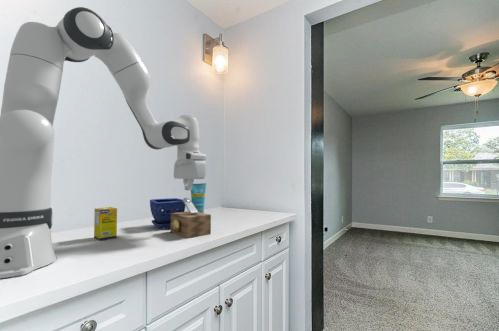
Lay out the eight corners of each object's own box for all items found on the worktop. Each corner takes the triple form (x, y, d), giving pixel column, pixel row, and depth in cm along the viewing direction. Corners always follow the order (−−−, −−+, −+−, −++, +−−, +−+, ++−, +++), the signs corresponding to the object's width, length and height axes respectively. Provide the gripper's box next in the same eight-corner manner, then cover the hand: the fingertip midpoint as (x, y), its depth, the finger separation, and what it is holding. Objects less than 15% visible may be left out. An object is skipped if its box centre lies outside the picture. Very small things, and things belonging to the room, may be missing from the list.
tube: (191, 227, 112) (192, 183, 113) (188, 225, 116) (188, 183, 117) (207, 225, 116) (207, 183, 117) (203, 223, 120) (203, 183, 121)
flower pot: (186, 227, 113) (187, 200, 113) (155, 230, 105) (156, 201, 106) (177, 222, 124) (177, 197, 124) (148, 225, 116) (148, 199, 117)
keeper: (190, 214, 98) (191, 212, 98) (181, 199, 104) (182, 198, 103) (197, 213, 100) (198, 212, 100) (188, 199, 106) (189, 197, 105)
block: (187, 238, 92) (187, 217, 93) (170, 231, 103) (170, 213, 103) (210, 233, 99) (210, 214, 99) (192, 228, 109) (192, 210, 110)
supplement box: (117, 237, 93) (117, 207, 94) (98, 240, 89) (99, 209, 89) (111, 235, 97) (111, 206, 98) (93, 238, 93) (94, 208, 93)
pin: (177, 233, 95) (177, 220, 95) (172, 231, 98) (172, 219, 98) (208, 228, 104) (208, 216, 104) (202, 226, 107) (202, 215, 107)
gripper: (169, 157, 109) (169, 189, 109) (194, 154, 94) (194, 191, 94) (183, 157, 113) (183, 188, 113) (208, 155, 98) (208, 191, 98)
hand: (188, 190), depth 103 cm, fingers closed
